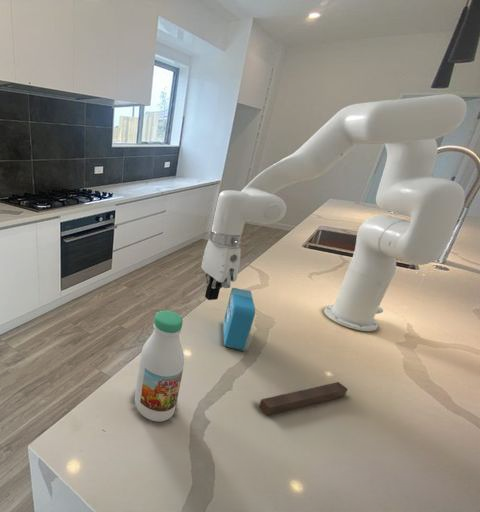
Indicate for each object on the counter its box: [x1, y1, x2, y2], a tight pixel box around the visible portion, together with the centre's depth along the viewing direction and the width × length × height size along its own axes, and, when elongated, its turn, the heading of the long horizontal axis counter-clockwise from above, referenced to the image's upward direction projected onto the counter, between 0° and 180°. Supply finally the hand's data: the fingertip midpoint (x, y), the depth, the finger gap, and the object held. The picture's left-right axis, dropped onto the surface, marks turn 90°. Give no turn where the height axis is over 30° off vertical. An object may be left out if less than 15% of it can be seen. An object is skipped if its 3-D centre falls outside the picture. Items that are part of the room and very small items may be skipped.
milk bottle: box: [134, 310, 185, 422], centre depth 53 cm, size 8×8×20 cm
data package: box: [222, 287, 256, 351], centre depth 76 cm, size 12×4×12 cm, turn 159°
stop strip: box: [258, 381, 349, 416], centre depth 59 cm, size 20×2×2 cm, turn 106°
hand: (211, 298), depth 86 cm, fingers closed
